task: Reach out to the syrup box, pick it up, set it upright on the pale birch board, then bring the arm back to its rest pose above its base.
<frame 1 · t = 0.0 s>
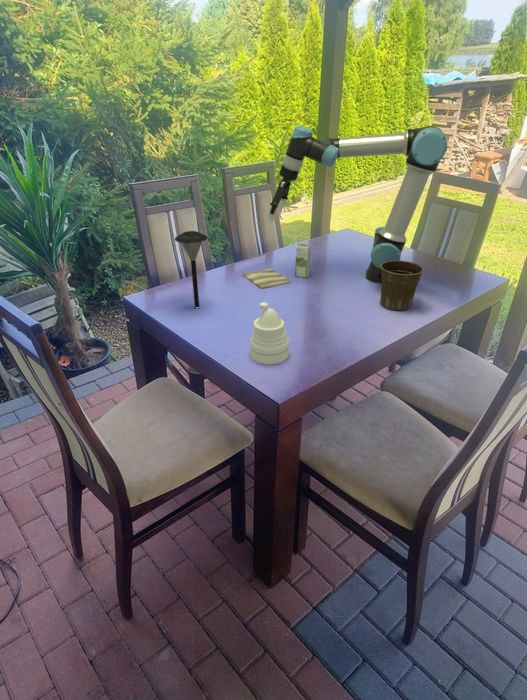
hand: (273, 216, 191), 28 cm above the table, fingers open, 13 cm apart
honey pot: (269, 354, 148), on the table
plant pot: (395, 305, 181), on the table
syrup box: (302, 276, 208), on the table
solar garden light: (197, 308, 178), on the table
birch board: (266, 279, 204), on the table
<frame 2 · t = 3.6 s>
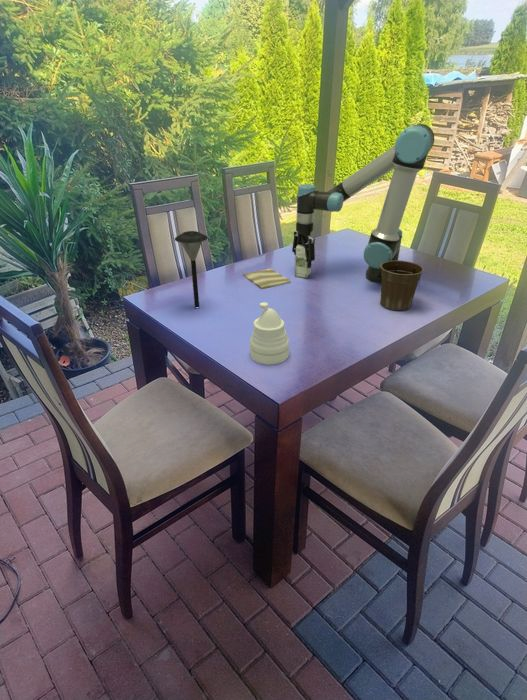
hand: (302, 271, 207), 2 cm above the table, fingers closed on syrup box, 8 cm apart
syrup box: (302, 276, 208), on the table, touching gripper
everything else where it was.
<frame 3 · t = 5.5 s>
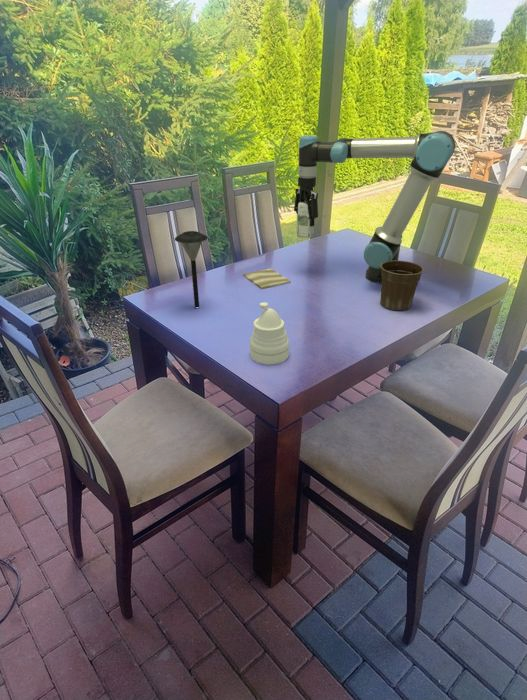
hand: (304, 230, 197), 21 cm above the table, fingers closed on syrup box, 8 cm apart
syrup box: (304, 236, 198), point 19 cm above the table, touching gripper
everything else where it was.
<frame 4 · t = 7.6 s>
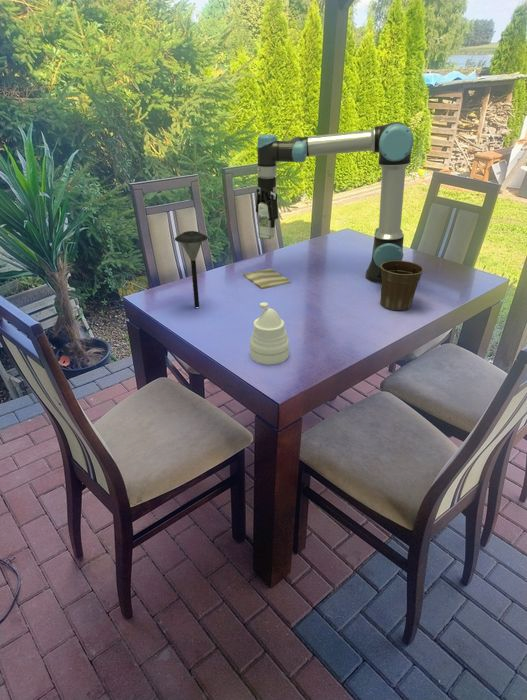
hand: (266, 232, 193), 22 cm above the table, fingers closed on syrup box, 8 cm apart
syrup box: (266, 237, 194), point 19 cm above the table, touching gripper
everything else where it was.
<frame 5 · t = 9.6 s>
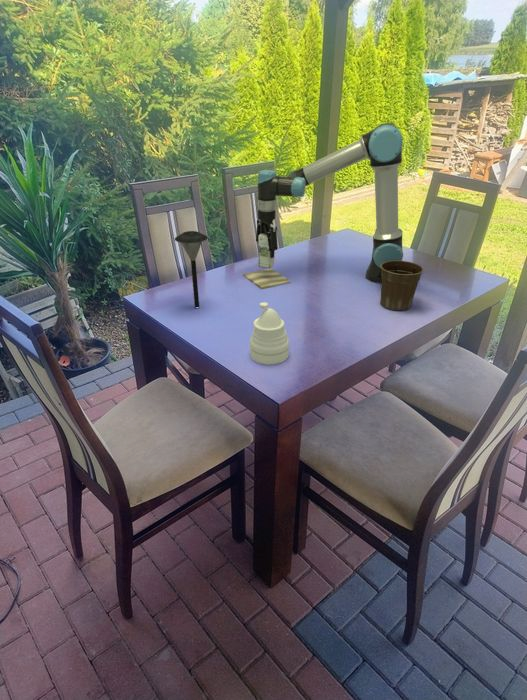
hand: (266, 261, 200), 9 cm above the table, fingers closed on syrup box, 8 cm apart
syrup box: (266, 266, 201), point 6 cm above the table, touching gripper
everything else where it was.
when the fingers open (5 cm above the table, at t = 11.4 s): syrup box drops 1 cm, resting on birch board.
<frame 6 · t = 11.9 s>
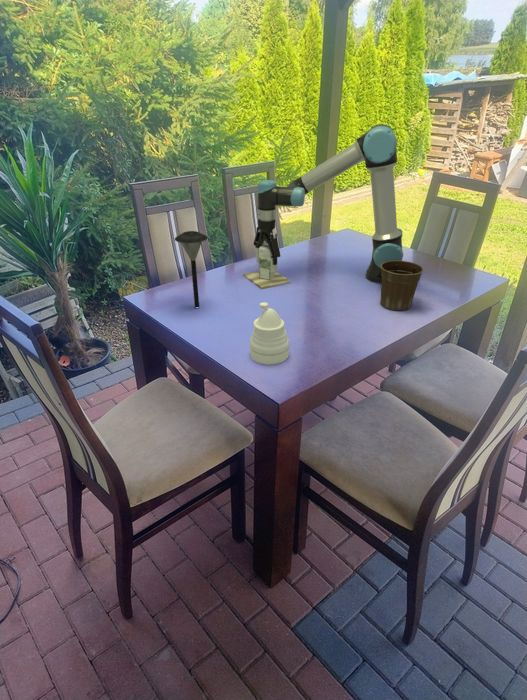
hand: (266, 266, 201), 6 cm above the table, fingers open, 13 cm apart
syrup box: (266, 277, 203), point 1 cm above the table, touching birch board
everything else where it was.
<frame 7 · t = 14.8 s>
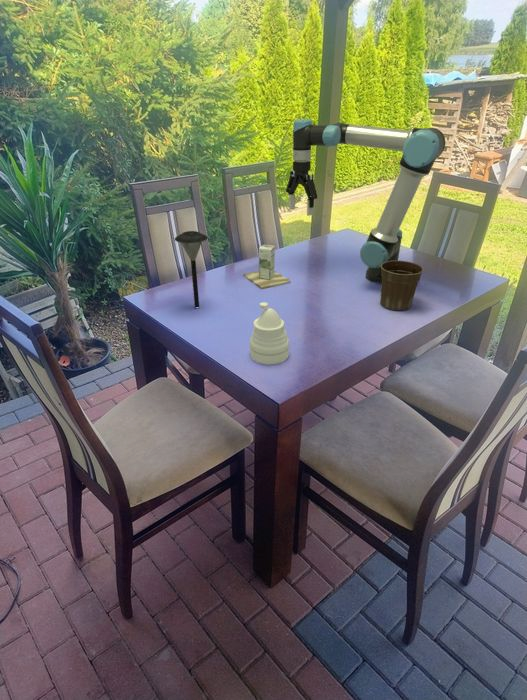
hand: (300, 212, 197), 28 cm above the table, fingers open, 13 cm apart
nothing on the table moved.
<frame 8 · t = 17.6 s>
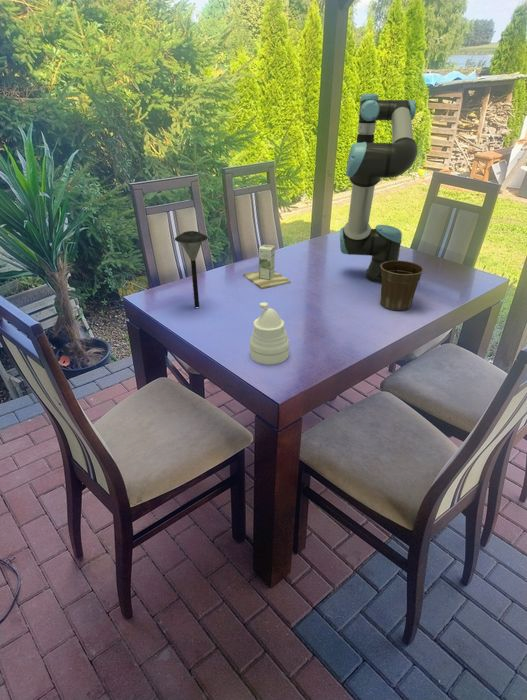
hand: (360, 183, 210), 37 cm above the table, fingers open, 13 cm apart
nothing on the table moved.
at the end: syrup box inside the target area on the birch board (0.2 cm from its centre), point 0.8 cm above the birch board's base; syrup box tilted 0°; the gripper is holding nothing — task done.
